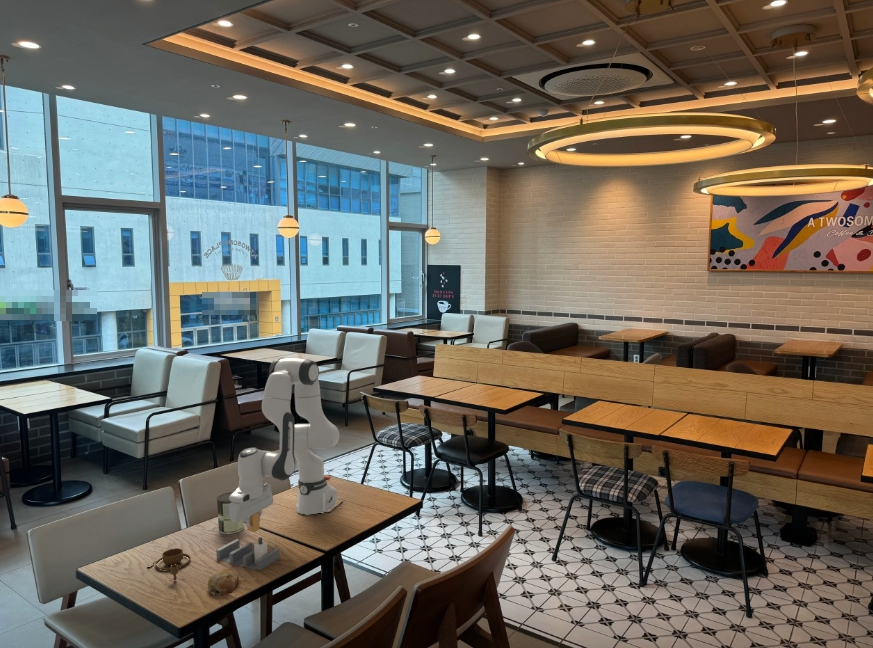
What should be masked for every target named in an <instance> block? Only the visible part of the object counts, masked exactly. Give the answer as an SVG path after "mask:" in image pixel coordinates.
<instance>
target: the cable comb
mask: <svg viewBox="0 0 873 648" xmlns="http://www.w3.org/2000/svg"><path fill="white" fill-rule="evenodd" d="M240 544H241V543H240V539H234V540H233V541H232V540H231V541H230V542H228V543H226V544H225V545H222V546H221V547H219V548H217V549H216V551H215V552H216V560H219V561H223V562H226V563H230V564H233V565H237V566H241V567H244V568H245V567H246V568H250V569H253V570H256V571H263V570H264V569H265V568H267V567H268V566H269V565H271V564H273V563H275V562H276V561H278V560H279V559H280V550H279V548H274V549H273V550H271V551H269V552H268V553H267V554H266V555H264V556H262V557H261V558H259V559H257V560H256V562H257V563H255V556H254V548H253V542H249V541H248V542H247V543H245V544H243V545H242V546H240Z"/></svg>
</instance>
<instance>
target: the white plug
mask: <svg viewBox="0 0 873 648" xmlns="http://www.w3.org/2000/svg"><path fill="white" fill-rule="evenodd" d="M253 550H254V556H255V563H257V562H256V560H257V559H259V558H261V557H262V556H264V555H266V554H267V553H269V552H268V542H265V541H263V537H262V536H261V537H258V540H257V542H256V543H253Z"/></svg>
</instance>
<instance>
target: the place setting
mask: <svg viewBox="0 0 873 648" xmlns="http://www.w3.org/2000/svg"><path fill="white" fill-rule="evenodd" d="M183 556H186V557H188V558H189V560H186V562H184V563H183V564H182V563H181V564H180V565H179V564H177V563H180V562H182V560H183V559H184V558H183ZM162 559H163V562H162V563H164V565H167V566H168V565H172V566H170V567H160V566H157V565H156V564H157V563H158V562H159V561H160V560H162ZM157 560H158V561H156V562H155V563H154V565H155V568H156V567H157V568H158V569H161V570H171V571H170V574H171V575H172V576H173V578H172V579H173V581H174V580H177V574H178V573H179V569H178V568H180V567H183V566H184V567H186V566H187V565H189V563H190V562H191V555H189V554H187V553H184V550H183V549H181V548H170V549H168V550H165V551H164V552H162V557H161V558H159V559H157ZM175 564H177V565H175ZM185 565H186V566H185ZM184 567H183V568H184ZM157 568H156V569H157ZM158 569H157V570H158ZM180 569H181V568H180Z"/></svg>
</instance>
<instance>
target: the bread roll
mask: <svg viewBox="0 0 873 648" xmlns="http://www.w3.org/2000/svg"><path fill="white" fill-rule="evenodd" d="M239 580H240V579H239V575H238V574H237V572H235V571H233V570H232V569H228V568H225V569H222V570H220V571H217V572H214V573H212V575H211V576H210V577H209V579H208V581H207V582H208V583H207V589H208V592H209V593H210V594H211V595H212V594H213V595H212V596H221V594H223V595H224V594H225V595H228V594H232V593H233V590H235V589H236V588H237V586H238V585H239V582H240V581H239ZM216 594H217V595H216Z"/></svg>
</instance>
